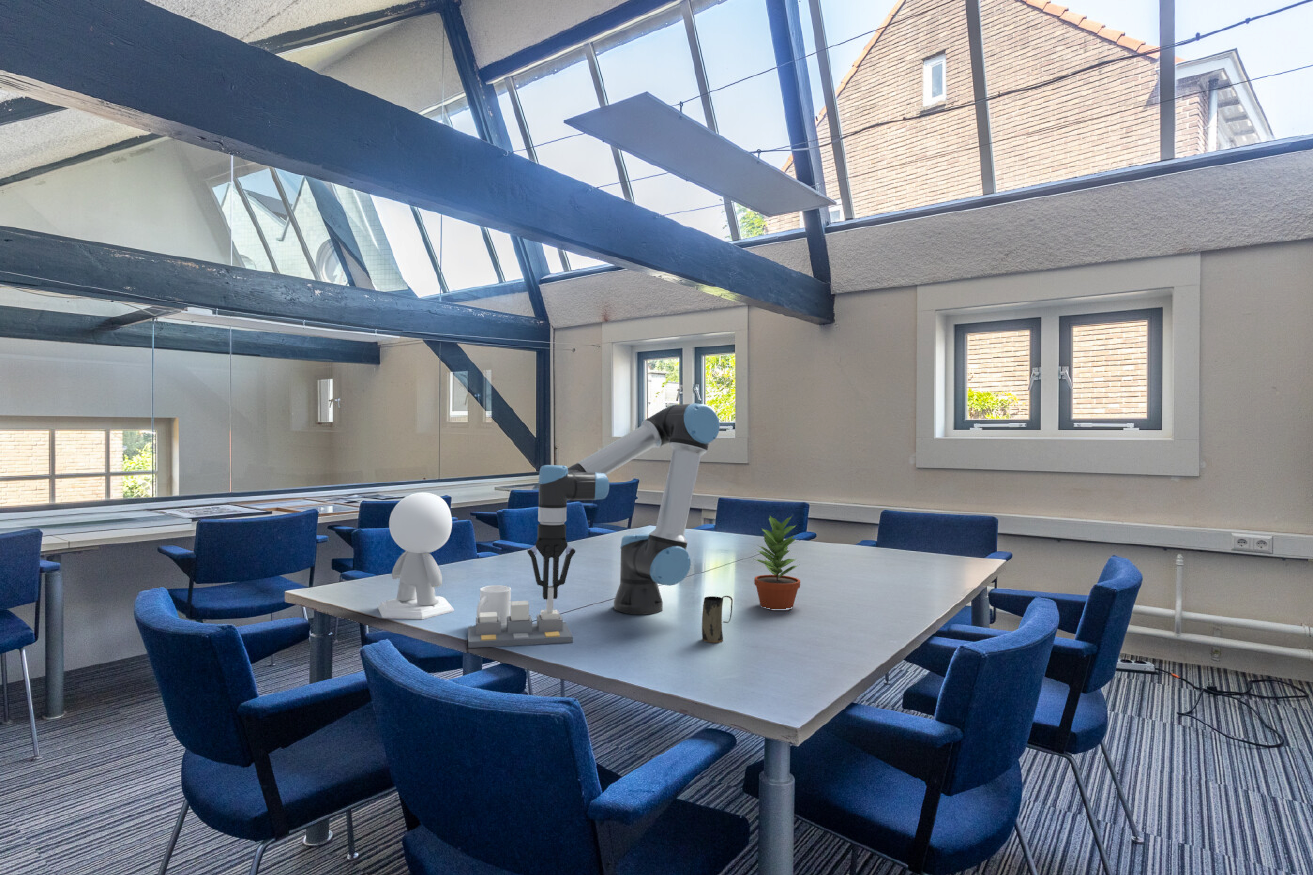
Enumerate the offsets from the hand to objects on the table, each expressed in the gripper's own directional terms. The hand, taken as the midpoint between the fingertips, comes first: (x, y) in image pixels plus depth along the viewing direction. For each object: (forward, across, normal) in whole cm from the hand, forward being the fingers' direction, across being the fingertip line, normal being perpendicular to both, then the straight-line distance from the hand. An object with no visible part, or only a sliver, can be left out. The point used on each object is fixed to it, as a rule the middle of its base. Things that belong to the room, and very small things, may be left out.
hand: (549, 610), depth 185 cm
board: (+6, +8, +2) cm, 10 cm away
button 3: (+4, +16, 0) cm, 16 cm away
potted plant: (+6, -74, -17) cm, 76 cm away
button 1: (+4, 0, 0) cm, 4 cm away
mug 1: (+6, +15, -9) cm, 19 cm away
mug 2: (+6, -42, +14) cm, 45 cm away
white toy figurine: (+7, +36, -32) cm, 48 cm away
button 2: (+2, +8, 0) cm, 8 cm away
